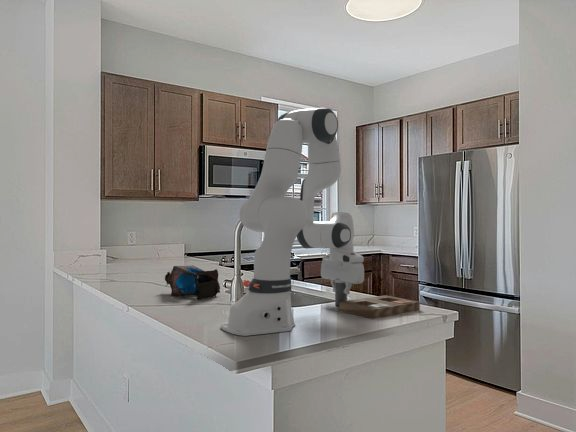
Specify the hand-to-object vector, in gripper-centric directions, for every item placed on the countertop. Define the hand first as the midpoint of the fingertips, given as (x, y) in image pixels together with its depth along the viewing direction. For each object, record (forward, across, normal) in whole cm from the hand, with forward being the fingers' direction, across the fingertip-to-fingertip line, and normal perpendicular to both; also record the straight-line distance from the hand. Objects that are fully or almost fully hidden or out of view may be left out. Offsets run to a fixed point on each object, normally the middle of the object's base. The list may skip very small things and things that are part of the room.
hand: (341, 293), depth 168 cm
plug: (+5, 0, 0) cm, 5 cm away
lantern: (+5, -51, -38) cm, 64 cm away
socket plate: (+5, +14, +6) cm, 16 cm away
